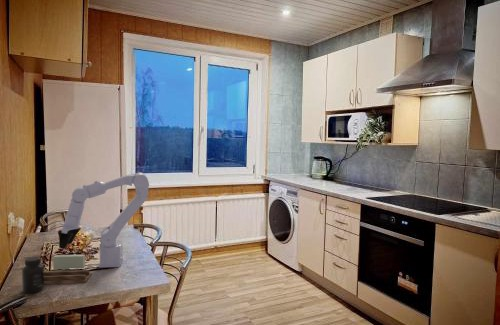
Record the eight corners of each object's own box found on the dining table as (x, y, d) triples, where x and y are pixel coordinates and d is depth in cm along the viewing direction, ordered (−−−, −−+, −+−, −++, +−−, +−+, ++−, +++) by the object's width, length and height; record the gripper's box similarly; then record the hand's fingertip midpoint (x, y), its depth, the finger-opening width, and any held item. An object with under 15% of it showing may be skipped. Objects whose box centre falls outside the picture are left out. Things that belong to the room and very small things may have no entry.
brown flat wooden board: (91, 274, 142) (91, 268, 142) (85, 282, 135) (85, 276, 134) (44, 276, 140) (44, 270, 139) (35, 284, 132) (35, 278, 132)
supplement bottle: (17, 292, 125) (17, 260, 124) (35, 284, 132) (34, 254, 131) (31, 295, 123) (30, 263, 122) (48, 288, 129) (47, 257, 128)
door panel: (85, 267, 150) (84, 254, 149) (83, 269, 148) (83, 256, 147) (55, 268, 148) (55, 255, 147) (53, 270, 146) (53, 256, 145)
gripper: (70, 210, 154) (62, 239, 153) (57, 215, 139) (48, 248, 139) (86, 213, 155) (78, 243, 155) (75, 219, 140) (66, 252, 140)
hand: (65, 245), depth 147 cm, fingers open, 7 cm apart
